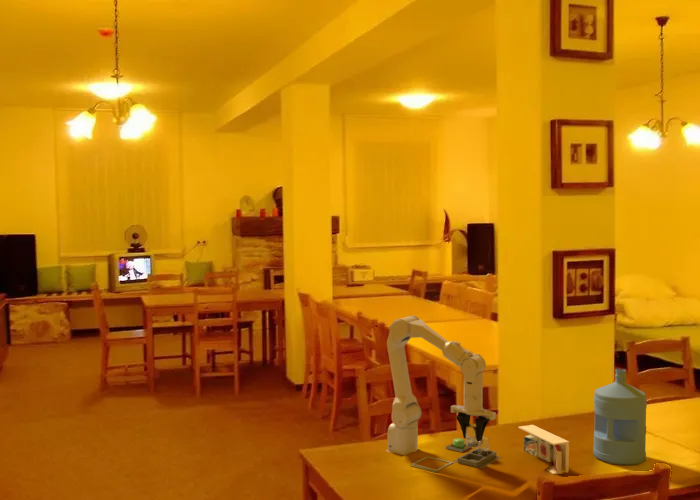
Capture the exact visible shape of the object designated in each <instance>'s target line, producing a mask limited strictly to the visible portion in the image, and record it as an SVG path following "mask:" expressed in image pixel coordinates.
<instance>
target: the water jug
mask: <svg viewBox="0 0 700 500" xmlns="http://www.w3.org/2000/svg"><path fill="white" fill-rule="evenodd" d="M614 371H615V375H614V377H615V378H614V379H615V381H614V382H612V383H609V384H607V385H604V386H600V387H598V388H596V389H595V390H594V395H593V396H594V397H593V404H594V405H593V406H594V407H593V408H594V422H593V423H594V425H593V426H594V427H593V428H594V432H593V447H592V448H593V450H592V453H593V455H594V456H595V458H596V459H598V460H599V461H603V462H604V461H605V463H608V464H612V463H613V464H614V465H618V464H620V466H634V465H639V464H642V463H643V462H644V461H646V457H647V452H646V442H647V441H646V440H647V439H646V435H647V422H646V421H647V407H648V405H647V404H648V403H647V394H646V393H645V392H644V391H642V390H640V389H638V388H637V387H634V386H633V385H631V384H628V383H627V381H626V380H627V379H626V378H627V375H626V372H627V370H626V369H624V368H616V369H614Z"/></svg>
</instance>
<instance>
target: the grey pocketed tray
mask: <svg viewBox="0 0 700 500" xmlns="http://www.w3.org/2000/svg"><path fill="white" fill-rule="evenodd" d="M501 458H502V457H501V456H497V451H494V450H489V455H487V456H481V455H477V454H476V448H474V449H473V450H470V451H469V452H467V453H465V454H463V455H461V456H459V457H457V459H456V460H455V459H454V460H453V461H452V462H453V463H457V464H461V465H466V466H471V467H473V468H479V469H484V468H486V467H488V466H489V465H491V464H493V463H494V462H496V461H498V460H500V459H501Z"/></svg>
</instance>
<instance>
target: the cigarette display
mask: <svg viewBox="0 0 700 500" xmlns="http://www.w3.org/2000/svg"><path fill="white" fill-rule="evenodd" d="M517 428H518V429H519V430H522V431H523V432H526V433H528V434H529V435H524V436H523V451H524V453H527V454H530V455H532V456H534V457H537V458H539V459H541V460H543V461H545V462H546V463H551V464H550V465H549V466H547V467H546V468H545V469H543V470H544V471H546V472H548V473H549V474H552V475H562V474H563V473H562V472H566V473H570V472H569V471H570V468H569V467H570V441H569V440H566V439H564V438H563V437H560V436H558V435H555V434H553V433H551V432H549V431H547V430H545V429H543V428H540V427H538V426H537V425H534V424H529V425H521V426H518V427H517Z"/></svg>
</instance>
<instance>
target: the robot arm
mask: <svg viewBox="0 0 700 500" xmlns="http://www.w3.org/2000/svg"><path fill="white" fill-rule="evenodd" d="M388 329H389V331H388V332H389V333H388V337H387V340H386V347H387V353H388V359H389V364H390V365H389V366H390V371H391V377H392V383H393V391H394V396H395V397H394V399H393V403H392V404H391V408H392V411H391V421H392V423H391V424H389V426H388V428H387V432H386V433H387V439H386V440H387V441H386V442H387V445H386V446H387V449H386V450H385V451H386V452H389V453H393V454H397V455H402V456H406V455H408V454H411V453H415V452H417V451H418V450H419V448H418V447H419V445H418V444H419V443H418V442H419V440H418V438H419V437H418V436H419V435H418V434H419V433H418V431H419V430H418V429H419V428H418V426H419V425H418V424H419V420H420V418H421V417H422V409H421V407H420V405H419V402H418V399H417V397H416V396H415V395H414V394H413V392H412V391H413V390H412V386H411V385H412V384H411V379H410V374H409V366H408V361H407V355H406V349H405V346H406V344H407V343H408V342H409V341H410V340H411V338H415V339H416V338H421V339H423V340H424V341H426V342H428V343H429V344H430V345H432V346H435V347H436V348H437V349H439V350H440V351H441V352H442V356H443V357H444V358H445V359H447V360H449V361H450V362H451V363H453V364H454V365H455V366H457V367H458V368H459V369H460V371H461V373H462V374H463V405H458V404H457V405H455V404H453V405H451V406H450V413H452V414H453V413H458V414H457V415H456V416H455V418H456V421H457V422H458V424H459V425H460V429H461V432H462V436H463V439H464V440H466V424H471V423H470V422H471V417H477V418H475V419H474V424H476V429H477V441H481V440H482V438H483V436H484V432H485V430H486V428H487V425H488V423H489V422H490V421H494V420H496V418H497V413H496V412H494V411H491V410H488V409H485V408H483V401H484V400H483V396H484V395H483V391H484V390H483V389H484V388H483V387H484V386H483V385H484V384H483V383H484V381H483V372H484V370H485V369H486V364H487V363H486V360H485V359H484V358H483V357H482V356H481V354H478V353H474V352H473V351H472V350H468V349H466V348H465V347H463V346H462V345H461V342H459V341H455V340H451V341H450V340H449V341H448V340H447V339H445V337H443V336H441V334H439V333H438V332H437V331H435V330H434V329H432V328H431V326H429V325H428V324H427V323H426V322H425V321H424V320H423V319H420V318H419V317H418V316H416V315H408V316H405V317H402V318H397V319H395V320H394V321H392V323H391V324H390V325H389V326H388Z"/></svg>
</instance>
